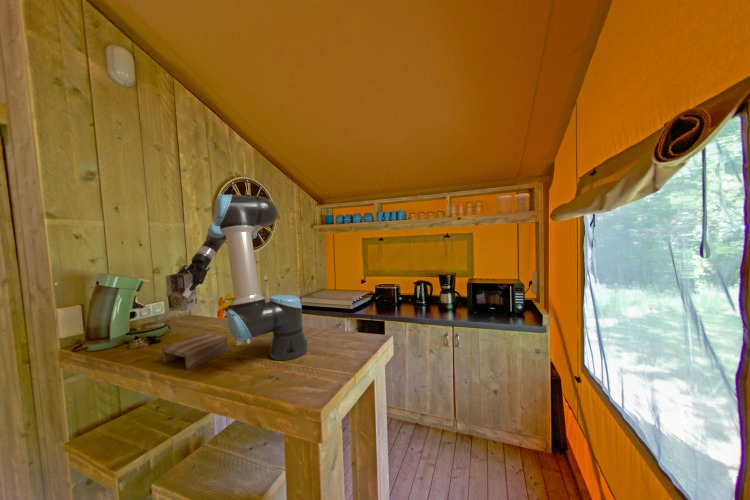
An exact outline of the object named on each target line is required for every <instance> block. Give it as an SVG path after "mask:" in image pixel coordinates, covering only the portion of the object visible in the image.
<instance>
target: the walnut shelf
mask: <svg viewBox="0 0 750 500" xmlns="http://www.w3.org/2000/svg"><path fill="white" fill-rule="evenodd" d="M228 339H229V338H228V336H223V335H218V334H212V333H206V332H201V333H198V334H195V335H193V336H190V337H188V338H184V339H182V340H180V341H176V342H174V343H172V344H168V345H166V346H163V347H161V352H162V353H161V354H162V360H163V361H162V362H163V363H164V364H167V363H169V362H172V361H174V360H176V359H179V358H184V361H185V369H186V370H188V371H189V370H191V369H194V368H196V367H197V366H199V365H202V364H204V363H205V362H208V361H211V360H212V359H214V358H216V357H218V356H220V355H223V354H224V353H227V352H229V341H228Z"/></svg>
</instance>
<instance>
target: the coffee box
mask: <svg viewBox="0 0 750 500" xmlns="http://www.w3.org/2000/svg"><path fill="white" fill-rule="evenodd" d="M164 277H165V285H166V291H167V294H168V297H167V301H168V309H169V312H178V311H179V312H180V311H190V310H193V309H195V308H198V306H199V305H198V300H197V299H198V297H197V290H196V288H195V289H194V290H193V291H192V293H191V294H190V296H189V297H188V298H185V297H184V296H182V294H183V293H184V291H185V290H186V288H187V287H188V286H189V284H190V283H193V282H192V281H193V278H194V273H190V272H189V273H180V274H177V273H174V274H169V275H165V276H164Z"/></svg>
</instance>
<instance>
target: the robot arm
mask: <svg viewBox="0 0 750 500" xmlns="http://www.w3.org/2000/svg"><path fill="white" fill-rule="evenodd" d="M278 215H279V211H278V208H277V207H276V205H275V204H274V202H273V201H272V200H270V199H269V198H267V197H264V196H260V195H256V196H255V195H242V194H241V195H239V194H219V195H218V196H217V197H216V198H215V201H214V206H213V217H212V218H213V222H212V223H211V224H210V225H209V226H208V228H207V233H206V239H205V240H204V241H203V243H202V245H201V246H199V249H198V250H197V251H196V252H195V254H194V255H193V256H192V258H191V263H190V264H189V265H186V264H183V266H182V267H181V269H179V271H178V272H176V274H180V273H194V278H193V281H192V282H193V283H190V284H189V286H188V287H187V288H186V290H185V291H184V293H183V294H182V296H184V297H185V298H188V297H189V296H190V294H191V293H192V291H193V290H194V289H195V288H196V287H198V286H199V285H203V284H204V283H205V280H206V279H205V278H206V276H207V274H208V272H209V270H210V269H211V268H210V266H209V265H210V264H211V262H212V260H213V259H214V258H215V256H216V255H217V253H218V252H219V250H220V249H221V248H222V246H223V245H224V243H225V242H226V247H227V253H228V262H229V267H230V276H231V282H232V291H233V298H234V299H233V301H232V302H231V303H230V309H228V310H227V311H226V313H225V316H226V322H227V326H228V328H229V331H230V333H231V336H232V337H233V338H234V340H236V341H239V342H240V341H245V340H251V339H253V338H256V337H260V336H263V335H266V334H271V333H272V338H271V342H270V347H269V350H268V352H269V357H270V358H271V360H275V361H287V360H288V361H289V360H293V359H294V360H295V359H296V358H300V357H301V356H303V355H305V354H306V353H307V352H308V351H309V342H308V340H307V339H306V338H307V337H306V336H305V333H304V331H303V330H304V327H303V311H302V308H303V306H302V302H301V301H302V300H301V298H300V297H299V296H296V295H292V294H291V295H290V294H279V295H277V294H276V295H273V296H271V297H270V298H269V301H266V299H265V298H266V297H264V296H263V295H261V293H260V286H259V280H258V272H257V264H256V257H255V252H254V245H253V240H254V239H256V238H257V237H258V232H259V231H261V230H262V229H263V228H267V227H270V226H272V225H274V223H275V222H276V221H277V219H278V217H279V216H278ZM163 295H164V296H165V297H166V298H168V294H167V290H166V291H165V292H164V294H163Z"/></svg>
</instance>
